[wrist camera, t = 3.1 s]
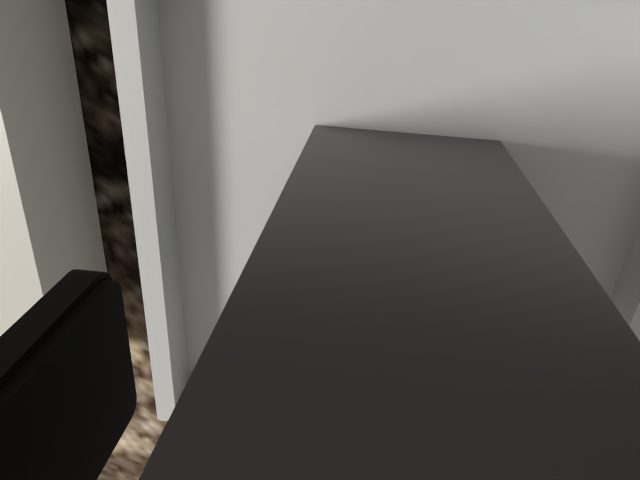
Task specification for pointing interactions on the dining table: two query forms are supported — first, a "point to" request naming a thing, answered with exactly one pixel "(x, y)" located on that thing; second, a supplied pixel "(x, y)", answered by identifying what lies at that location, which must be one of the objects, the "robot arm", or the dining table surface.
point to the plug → (410, 331)
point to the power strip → (41, 159)
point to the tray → (361, 126)
